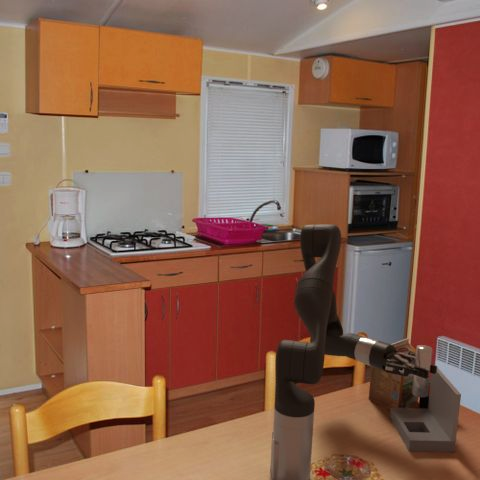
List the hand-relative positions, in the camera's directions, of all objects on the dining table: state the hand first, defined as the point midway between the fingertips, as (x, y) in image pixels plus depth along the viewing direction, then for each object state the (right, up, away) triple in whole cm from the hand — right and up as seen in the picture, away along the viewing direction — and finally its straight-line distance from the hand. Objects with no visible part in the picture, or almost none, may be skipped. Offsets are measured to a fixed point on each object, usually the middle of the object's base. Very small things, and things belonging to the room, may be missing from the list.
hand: (432, 372), depth 155 cm
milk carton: (-3, -15, +27) cm, 31 cm away
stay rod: (-2, -6, +3) cm, 8 cm away
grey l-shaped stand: (-1, -18, +8) cm, 20 cm away
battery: (+7, -16, +22) cm, 28 cm away
